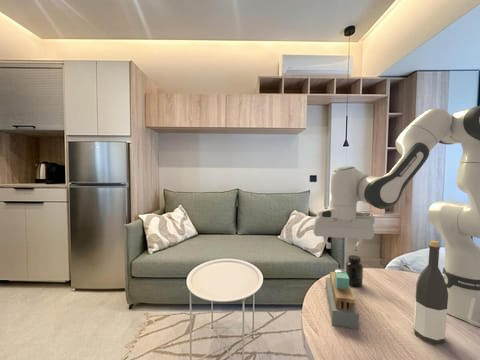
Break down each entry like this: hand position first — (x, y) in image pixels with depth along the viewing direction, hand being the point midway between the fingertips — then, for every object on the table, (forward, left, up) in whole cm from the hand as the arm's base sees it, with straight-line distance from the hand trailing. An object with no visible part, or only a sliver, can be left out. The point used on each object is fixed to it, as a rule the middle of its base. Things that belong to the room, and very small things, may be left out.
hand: (342, 249), depth 92 cm
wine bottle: (-24, +10, -22) cm, 34 cm away
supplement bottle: (-8, -20, -22) cm, 31 cm away
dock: (0, 0, -22) cm, 22 cm away
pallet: (0, 0, -17) cm, 17 cm away
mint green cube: (0, +2, -13) cm, 13 cm away
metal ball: (0, -2, -13) cm, 13 cm away
